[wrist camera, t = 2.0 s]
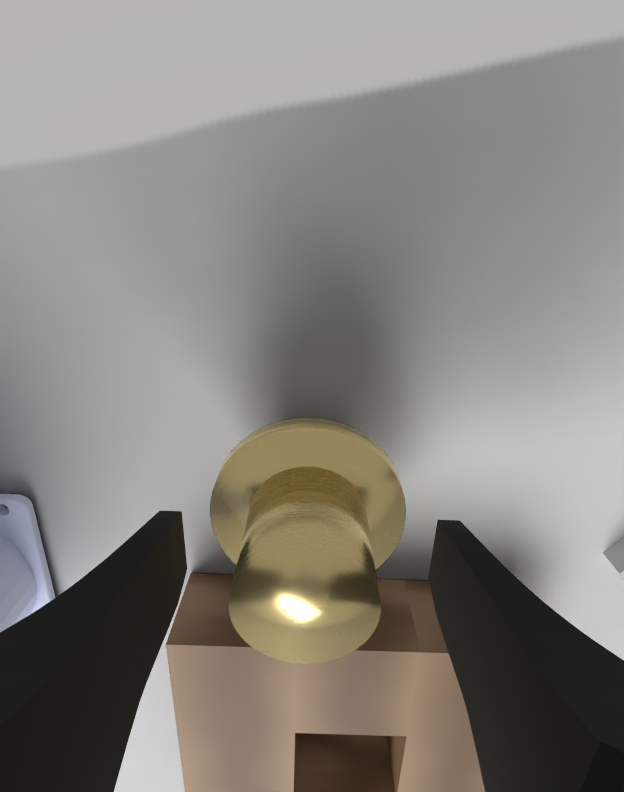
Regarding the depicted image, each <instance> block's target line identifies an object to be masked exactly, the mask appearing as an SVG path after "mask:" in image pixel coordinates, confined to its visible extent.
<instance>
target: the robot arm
mask: <svg viewBox="0 0 624 792" xmlns="http://www.w3.org/2000/svg"><path fill="white" fill-rule="evenodd" d="M3 505H5V506H7V507H8V509H7V508H5V507H4V506H3ZM186 571H187V563H186V553H185V543H184V532H183V522H182V512H179V511H159V512H158V513H157V514H156V515H155V516H154V517H152V518H151V519H150V520H149V521H148V522H147V523H146V524H145V525H144V526H142V527H141V528H140V529H139V530H138V531H137V532H136V533H135V534H134V535H133V536H131V537H130V538H129V539H128V540H127V541H126V542H125V543H124V544H123V545H121V546H120V547H119V548H118V549H117V550H116V551H115V552H113V553H112V554H111V555H110V556H109V557H108V558H106V559H105V560H104V561H103V562H102V563H100V564H99V565H98V566H97V567H95V568H94V569H93V570H92V571H90V572H89V573H88V574H87V575H85V576H84V577H83V578H82V579H80V580H79V581H78V582H77V583H75V584H74V585H73V586H71V587H70V588H69V589H67V590H66V591H64V592H63V593H62V594H60V595H59V596H57V597H56V598H55V594H54V590H53V586H52V581H51V577H50V573H49V569H48V565H47V561H46V557H45V553H44V549H43V545H42V540H41V536H40V532H39V528H38V524H37V520H36V516H35V512H34V508H33V504H32V502H31V501H30V500H29V499H28V498H27V497H25V496H23V495H19V494H0V792H114V788H115V785H116V781H117V778H118V774H119V770H120V767H121V763H122V760H123V756H124V753H125V749H126V745H127V742H128V739H129V735H130V732H131V729H132V725H133V722H134V719H135V715H136V712H137V708H138V705H139V702H140V699H141V696H142V693H143V691H144V688H145V685H146V682H147V680H148V677H149V675H150V672H151V670H152V667H153V665H154V662H155V660H156V657H157V655H158V652H159V650H160V647H161V645H162V642H163V640H164V637H165V635H166V633H167V630H168V627H169V625H170V622H171V620H172V617H173V615H174V612H175V610H176V607H177V604H178V601H179V598H180V594H181V590H182V587H183V583H184V579H185V575H186ZM429 582H430V587H431V592H432V598H433V602H434V607H435V612H436V615H437V618H438V622H439V625H440V628H441V631H442V634H443V637H444V640H445V643H446V646H447V649H448V652H449V655H450V659H451V662H452V665H453V668H454V671H455V674H456V677H457V680H458V683H459V686H460V689H461V692H462V695H463V699H464V702H465V706H466V709H467V713H468V717H469V721H470V726H471V730H472V734H473V739H474V743H475V747H476V752H477V756H478V761H479V765H480V770H481V775H482V780H483V784H484V789H485V792H624V661H623V660H622V659H620V658H619V657H617V656H616V655H614V654H613V653H611V652H610V651H608V650H607V649H605V648H604V647H603V646H601V645H600V644H598V643H597V642H595V641H594V640H592V639H591V638H589V637H588V636H587V635H585V634H584V633H582V632H581V631H580V630H578V629H577V628H576V627H574V626H573V625H572V624H571V623H569V622H568V621H567V620H565V619H564V618H563V617H561V616H560V615H559V614H558V613H556V612H555V611H554V610H552V609H551V608H550V607H549V606H548V605H546V604H545V603H544V602H543V601H542V600H541V599H539V598H538V597H537V596H536V595H535V594H534V593H533V592H531V591H530V590H529V589H528V588H527V587H526V586H525V585H523V584H522V583H521V582H520V581H519V580H518V579H517V578H516V577H515V576H514V575H513V574H512V573H511V572H510V571H509V570H507V569H506V568H505V567H504V566H503V565H502V564H501V563H500V562H499V561H498V560H497V559H496V558H495V557H494V556H493V555H492V554H491V553H490V552H489V551H488V550H487V549H486V547H485V546H484V545H483V544H482V543H481V542H480V541H479V540H478V539H477V538H476V537H475V536H474V535H473V534H472V533H471V532H470V531H469V530H468V529H467V528H466V527H465V526H464V525H463V524H462V523H461V522H460V521H453V520H438V522H437V528H436V534H435V540H434V547H433V553H432V559H431V565H430V571H429Z"/></svg>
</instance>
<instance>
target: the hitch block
mask: <svg viewBox="0 0 624 792" xmlns="http://www.w3.org/2000/svg"><path fill="white" fill-rule="evenodd" d="M233 579H234V575H230V574H198V573H191V574H190V577H189V580H188V583H187V586H186V589H185V592H184V594H183V597H182V600H181V603H180V606H179V609H178V612H177V615H176V617H175V620H174V623H173V626H172V629H171V632H170V635H169V637H168V640H167V643H166V648H167V656H168V664H169V672H170V679H171V687H172V695H173V702H174V710H175V718H176V726H177V733H178V741H179V749H180V757H181V764H182V772H183V780H184V787H185V792H485V789H484V784H483V780H482V775H481V770H480V765H479V761H478V756H477V752H476V747H475V743H474V739H473V734H472V730H471V726H470V721H469V717H468V713H467V709H466V706H465V702H464V699H463V695H462V692H461V689H460V686H459V683H458V680H457V677H456V674H455V671H454V668H453V665H452V662H451V659H450V655H449V652H448V649H447V646H446V643H445V640H444V637H443V634H442V631H441V628H440V625H439V622H438V618H437V615H436V612H435V607H434V602H433V598H432V592H431V587H430V582H429V581H425V580H393V579H377V582H378V588H379V594H380V601H381V614H380V619H379V622H378V625H377V627H376V629H375V630H374V632H373V634H372V635H371V636H370V638H369V639H368V640H367V641H366V642H365V643H364V644H363V645H361V646H360V647H359V648H357V649H356V650H355V651H353V652H351V653H349V654H347V655H345V656H343V657H340V658H337V659H334V660H331V661H326V662H321V663H309V664H302V663H292V662H286V661H282V660H278V659H275V658H272V657H269V656H267V655H265V654H263V653H261V652H259V651H257V650H256V649H254V648H253V647H251V646H250V645H249V644H248V643H247V642H245V641H244V640H243V638H242V637H241V636H240V635H239V634H238V632H237V631H236V629H235V628H234V626H233V624H232V621H231V618H230V615H229V608H228V607H229V597H230V592H231V587H232V583H233Z"/></svg>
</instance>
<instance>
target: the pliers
mask: <svg viewBox="0 0 624 792" xmlns="http://www.w3.org/2000/svg"><path fill="white" fill-rule="evenodd" d="M603 554H604V555H605V556H606V558H607V559H608V560H609V562H610V563H611V564H612V565H613V567H614V568H615V569H616V570H617V571H618V573H619V574H620V575H621V576H622V577H623V579H624V537H623V538H622V539H621V540H620V541H618V542H617V543H616V544H614V545H613V546H612V547H611V548H609V549H608V550H607V551H605V552H604V553H603Z"/></svg>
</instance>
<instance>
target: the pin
mask: <svg viewBox="0 0 624 792" xmlns="http://www.w3.org/2000/svg"><path fill="white" fill-rule="evenodd" d="M210 517H211V524H212V528H213V531H214V534H215V536H216V539H217V541H218V543H219V545H220V546H221V548H222V549H223V551H224V552H225V554H226V555H227V556H228V557H229V558H230V559H231V561H232V562H233V563H234V564H236V565H237V566H236V570H235V574H234V579H233V583H232V587H231V592H230V597H229V607H228V608H229V615H230V618H231V621H232V624H233V626H234V628H235V629H236V631H237V632H238V634H239V635H240V636H241V637H242V638H243V640H244V641H245V642H247V643H248V644H249V645H250V646H251V647H253V648H254V649H256V650H257V651H259V652H261V653H263V654H265V655H267V656H269V657H272V658H275V659H278V660H282V661H286V662H292V663H302V664H309V663H321V662H326V661H331V660H334V659H337V658H340V657H343V656H345V655H347V654H349V653H351V652H353V651H355V650H356V649H357V648H359V647H360V646H361V645H363V644H364V643H365V642H366V641H367V640H368V639H369V638H370V636H371V635H372V634H373V632H374V630H375V629H376V627H377V625H378V622H379V619H380V614H381V601H380V594H379V588H378V582H377V576H376V569H377V568H379V567H380V566H381V565H382V564H383V563H384V562H385V561H386V560H387V559H388V558H389V556H390V555H391V554H392V552H393V551H394V549H395V548H396V546H397V544H398V542H399V540H400V538H401V535H402V532H403V529H404V524H405V517H406V507H405V498H404V495H403V491H402V488H401V484H400V481H399V478H398V474H397V472H396V470H395V468H394V465H393V463H392V462H391V460H390V459H389V457H388V456H387V454H386V453H385V452H384V451H383V450H382V448H381V447H380V446H379V445H378V444H376V443H375V442H374V441H373V440H372V439H371V438H369V437H368V436H366V435H365V434H363V433H362V432H360V431H358V430H356V429H354V428H352V427H350V426H348V425H345V424H342V423H339V422H336V421H331V420H326V419H319V418H295V419H289V420H283V421H280V422H276V423H272V424H270V425H268V426H265V427H263V428H260V429H259V430H257V431H255V432H253V433H252V434H250V435H249V436H247V437H246V438H245V439H244V440H242V441H241V442H240V443H239V444H238V445H237V446H236V447H235V448H234V449H233V450H232V451H231V453H230V454H229V455H228V457H227V458H226V460H225V462H224V464H223V466H222V467H221V470H220V472H219V475H218V478H217V480H216V483H215V486H214V489H213V492H212V496H211V502H210Z"/></svg>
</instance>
